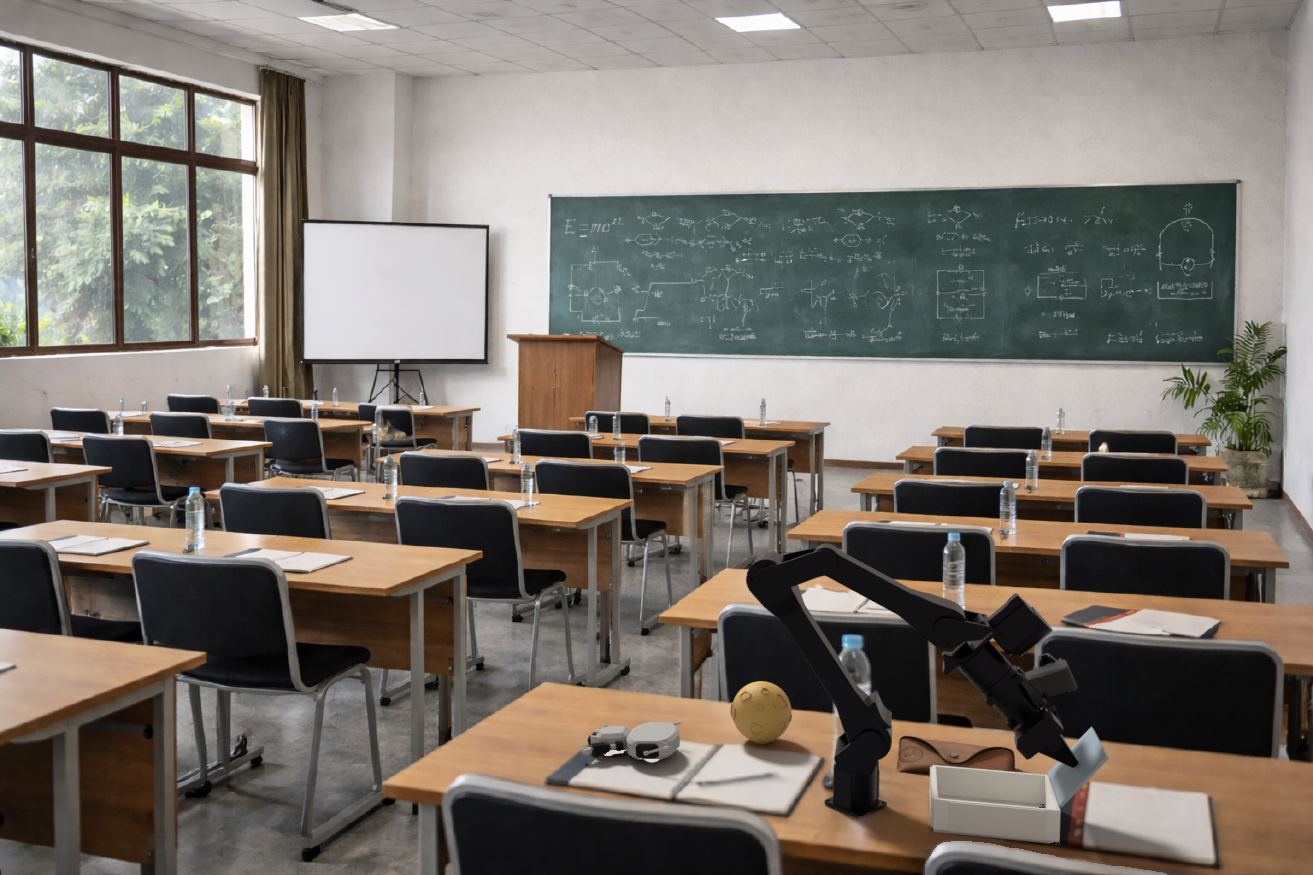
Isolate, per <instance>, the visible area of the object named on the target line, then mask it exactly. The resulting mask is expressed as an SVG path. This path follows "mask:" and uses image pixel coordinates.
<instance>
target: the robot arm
mask: <svg viewBox="0 0 1313 875" xmlns="http://www.w3.org/2000/svg"><path fill="white" fill-rule="evenodd" d="M822 577H827V578H829V579H831V580H832V581H834V582H836V583H837V584H839V585H842V586H843V587H845V588H847V589H849V590H851V591H853V592H855V593H857V594H859V595H860V596H862V597H864V598H866V599H867V600H869V601H871V602H873V603H875V604H876V605H879V606H881V607H882V608H884V609H886V610H887V611H889V612H892V613H893V614H895V615H897V616H898V617H900V618H901V619H902V620H903V621H904V622H906V623H907V624H908V625H909V626H910V628H912V629H913V630H914V631H915V632H916V633H917V634H919V635H920V636H922V637H923V638H924V639H925V640H926V641H928V642H929V643H930V644H931V645H933V646H934V647H935V648H938V649H940V650H944V651H942V653H941V656H942V660H943V661H942V662H943V663H942V673H943V675H944V676H949V675H950V674H951V673H952V672H954V671H955V670H956V669H957V668H958V669H959V671H960V672H961V673H962V675H964V676H965V677H966V678H967V679H968V680H969V682H971V683H972V684H973V686H974V687H975V688H976V689H977V690H978V691H979V692H980V694H982V696H983V698H984V702H985V703H986V704H987V705H988V706H989V707H990V708H991V707H993V708H994V709H995V710H996V711H997V712H998V713H999V714H1000V715H1001V716H1002V717H1003V719H1005V723H1006V726H1007V727H1008V728H1009V729H1010V730H1015V731H1014V737H1013V738H1014V739H1013V741H1014V744H1015V747H1016V750H1017V751H1018V753H1020V754H1021V756H1022V757H1024V759H1025V760H1031V759H1033V757H1035V756H1036V755H1038V753H1039V754H1041V755H1044V756H1046V757H1048V758H1049V759H1050V758H1051V759H1052V760H1054V761H1057V762H1058V761H1059V762H1061V763H1063V764H1065V765H1067V766H1069V767H1072V768H1074V767H1075V766H1076V765H1078V760H1077V759H1076V757H1075V756H1074V754H1073V752H1072V751H1071V748H1070V746H1069V744H1068V743H1067V741H1066V738H1065V737H1064V735H1063V733H1064V731H1065V729H1064V726H1063V725H1062V723H1061V719H1060V717H1059V714H1058V711H1057V709H1056V707H1055V705H1051V706H1049V707H1048V708H1046V707H1044V706H1046V705H1047V704H1048V702H1047V700H1046V699H1048V698H1051V697H1055V696H1057V695H1060V694H1063V693H1071V692H1074V691H1076V690H1077V689H1078V685H1077V683H1076V680H1075V678H1074V676H1073V674H1072V671H1071V669H1070V666H1069V664H1068V661H1067V660H1066V659H1062V658H1061V657H1060V658H1058V659H1056V658H1055V657H1054V656H1052V654H1051V653H1049V652H1046V653H1042V654H1040V655H1038V656H1037V667H1036V666H1033V667H1032V668H1033V669H1031V670H1028V671H1026V672H1025V671H1024V670H1023V669H1022V668H1021V667H1020V666H1016V665H1013V664H1012V663H1011V662H1010V661H1009V660H1008V659H1007V657H1005V656H1004V654H1003V653H1001V651H999V649H998V648H997V647H996V646H995V645H994V644H993V643H992V642H991V640H993V641H994V642H995V643H996V644H997V646H999V647H1000V649H1001V650H1002V651H1003V652H1005V654H1007V655H1008V657H1011V656H1013V657H1016V656H1019V657H1020V658H1022V657H1024V655H1026V653H1028V652H1029V651H1030V650H1031V649H1033V648H1034V647H1035V646H1036V645H1038V644H1039V643H1040V642H1042V641H1043V640H1044V639H1045V638H1046V637H1047V636H1049V635H1050V634H1051V633H1053V632H1054V629H1053V628H1052V626H1051V625H1050V624H1049V623H1048V621H1046V618H1044V617H1043V616H1042V615H1041V614H1040V612H1038V611H1037V609H1036V608H1035V607H1034V606H1031V605H1030V604H1029V603H1028V602H1027V601H1026V600H1025V599H1023V598H1022V597H1021V596H1020V595H1019V593H1014V594H1012V595H1011V596H1010V597H1009V598H1008V599H1007V600H1006V601H1005V603H1004V604H1002V605H1001V606H1000V607H999V608H998V609H997V610H995V611H994V612H993V613H991V615H989V616H988V614H987V613H981V612H976V611H972V610H967V609H963V608H962V606H961V605H960V604H959V603H957V602H956V601H953V600H951V599H948V598H946V597H942V596H939V595H936V594H933V593H929V592H924V591H920V590H917V589H913V588H911V587H909V586H907V585H905V584H903V583H901V582H899V581H898V580H896V579H894V578H892V577H890V576H888V575H886V574H884V573H883V572H880V571H879V570H877V569H875V568H873V567H871V566H870V565H868V564H866V563H864V562H862V561H860V560H858V559H856V558H854V557H853V556H852V555H849V554H847V553H845V552H844V551H841V550H840V549H839V548H838V547H837V546H835V545H834V544H831V543H822V544H820V545H818V546H815V547H811V548H806V549H800V550H796V551H792V552H788V553H783V554H780V553H776V552H774V551H773V552H765V553H763V554H761V555H759V556H757V558H755V559H754V561H753V562H752V564H750V566H749V567H748V569H747V571H746V576H745V584H746V587H747V588H748V591H749V592H750V593H751V594H752V596H754V598H755V599H756V600H757V601H758V603H760V604H761V605H762V606H763V608H764V609H765V610H766V611H768V612H769V613H770V614H771V615H772V616H774V617H775V618H776V619H778V621H780V622H781V624H782V625H783V627H784V628H785V630H786V631H787V633H788V634H789V636H790V638H791V639H792V641H793V642H794V643H795V646H796V647H797V648H798V650H799V652H800V653H801V655H802V656H803V658H804V660H805V661H806V662H807V664H808V665H809V668H811V671H812V672H813V673H814V675H815V677H816V678H817V679H818V681H819V682H820V684H821V685H822V687H823V689H824V690H825V691H826V693H827V695H828V696H829V698H830V699H831V701H832V702H833V704H834V707H835V708H836V711H837V714H838V716H839V717H838V718H839V721H840V723H841V726H842V729H843V733H841V735H839V736H838V737H837V742H836V746H835V750H834V757H833V760H834V764H833V778H832V779H833V783H832V784H833V785H832V790H833V791H832V796H831V797H828V798H826V799H824V802H823V803H824V804H825V805H827V806H829V807H831V808H834V809H836V810H839V811H842V812H843V813H847V814H849V815H852V816H854V817H856V818H861V817H864V816H867V815H869V814H872V813H874V812H876V811H878V810H879V811H880V810H881V809H883V808H885V807H887V805H888V802H887V801H884V800H883V799H879V797H880V761H881V760H882V759H884V758H885V757H887V755H888V754H889V752H890V751H891V750H892V744H893V743H892V742H893V724H892V716H893V715H892V714H893V712H892V711H891V710H889V709H888V708H887V707H886V706H885V705H884V704H883V701H882V699H881V697H880V695H879V692H878V690H874V691H872V693H871V694H870V695H869V694H868V693H866V692H865V691H864V690H862V689H861V688H860V687H859V686H858V684H857V683H856V682H855V680H854V679H853V677H852V675H851V673H850V672H849V670H848V669H847V667H846V666H845V664H844V663H843V661H842V660H841V658H840V656H839V655H838V654H837V652H836V650H835V649H834V647H833V646H832V644H831V643H830V642H829V640H828V638H827V637H826V635H825V633H824V631H823V630H822V629H821V627H820V626H819V624H818V623H817V621H816V619H815V618H814V617H813V615H812V613H811V612H810V611H809V609H808V608H807V605H806V604H805V602H804V599H803V595H802V593H801V589H800V586H799V585H801V584H804V583H807V582H809V581H812V580H815V579H818V578H822ZM953 649H954V650H953ZM949 650H953V651H949ZM1017 726H1019V727H1018V728H1017V729H1015V728H1016V727H1017Z"/></svg>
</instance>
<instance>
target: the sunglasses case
mask: <svg viewBox="0 0 1313 875" xmlns="http://www.w3.org/2000/svg"><path fill="white" fill-rule="evenodd" d="M897 755H898V757H897V763H896V764H897V765H896V773H904V774H917V775H928V776H930V767H932V765H939V766H951V767H963V768H975V769H986V770H998V771H1010V772H1014V770H1015V769H1016V757H1015V751H1014V750H1013V749H1011V748H1009V747H1007V746H1006V747H1005V746H987V745H985V746H984V745H978V744H972V743H971V744H970V743H963V742H955V741H948V740H947V741H946V740H945V741H944V740H936V739H926V738H922V737H918V736H912V735H903V736H901V737H900V738H899V740H898V753H897Z"/></svg>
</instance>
